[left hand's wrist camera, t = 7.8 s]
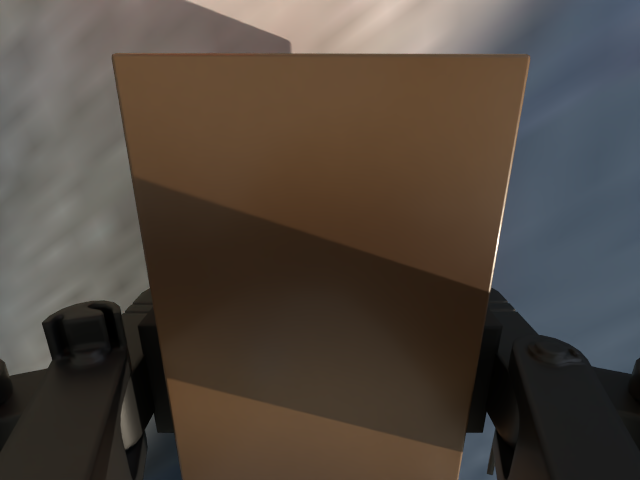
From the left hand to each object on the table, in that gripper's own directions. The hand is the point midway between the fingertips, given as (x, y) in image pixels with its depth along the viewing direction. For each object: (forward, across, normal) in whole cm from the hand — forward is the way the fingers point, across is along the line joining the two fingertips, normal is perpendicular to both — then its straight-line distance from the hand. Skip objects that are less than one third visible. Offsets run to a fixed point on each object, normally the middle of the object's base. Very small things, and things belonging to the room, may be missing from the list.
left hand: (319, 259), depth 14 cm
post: (+1, 0, -22) cm, 22 cm away
